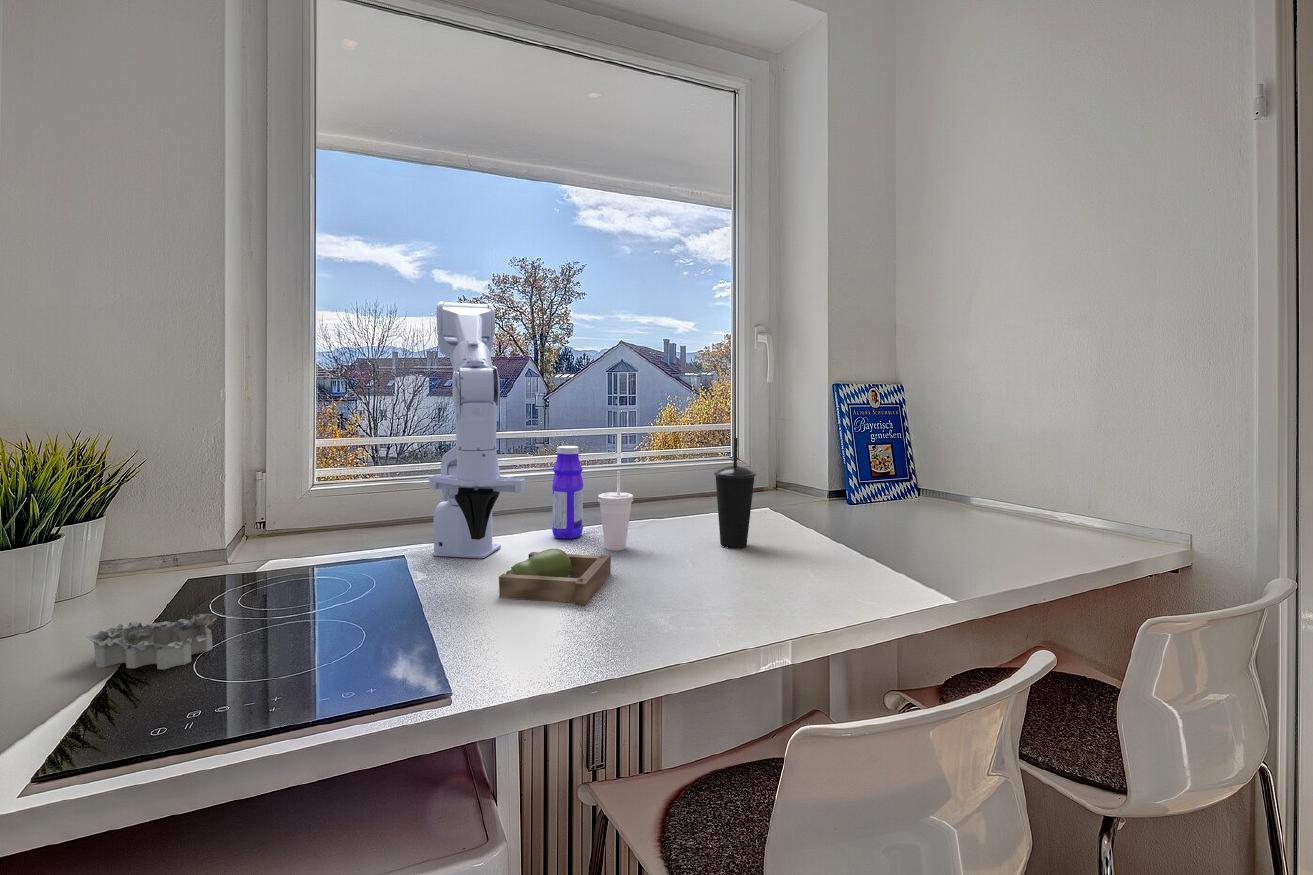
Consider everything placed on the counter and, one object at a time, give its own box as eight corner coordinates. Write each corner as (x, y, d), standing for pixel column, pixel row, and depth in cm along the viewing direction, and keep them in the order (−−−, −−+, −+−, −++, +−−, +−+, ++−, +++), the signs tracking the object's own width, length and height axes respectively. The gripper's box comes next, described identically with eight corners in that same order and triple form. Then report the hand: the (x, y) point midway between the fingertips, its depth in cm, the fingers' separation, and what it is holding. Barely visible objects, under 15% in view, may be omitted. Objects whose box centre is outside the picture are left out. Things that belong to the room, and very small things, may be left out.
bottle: (557, 531, 136) (557, 444, 135) (585, 531, 136) (585, 444, 134) (548, 539, 129) (548, 448, 127) (578, 540, 129) (578, 449, 127)
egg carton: (224, 646, 79) (222, 612, 79) (171, 675, 72) (169, 637, 71) (140, 641, 80) (138, 607, 80) (79, 669, 73) (77, 632, 72)
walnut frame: (497, 599, 95) (496, 578, 95) (533, 568, 110) (533, 550, 110) (585, 605, 93) (585, 583, 93) (610, 573, 108) (610, 554, 108)
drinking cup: (707, 548, 124) (709, 438, 122) (719, 538, 131) (721, 435, 129) (748, 552, 121) (751, 440, 119) (758, 542, 128) (761, 437, 126)
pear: (574, 549, 101) (510, 569, 96) (579, 582, 102) (517, 604, 97) (559, 540, 106) (497, 560, 101) (564, 572, 107) (503, 593, 102)
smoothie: (628, 553, 120) (628, 474, 119) (593, 551, 121) (593, 473, 120) (636, 544, 126) (637, 469, 125) (603, 542, 128) (603, 468, 126)
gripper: (417, 450, 99) (420, 541, 100) (513, 453, 97) (514, 547, 98) (440, 444, 106) (442, 530, 107) (530, 447, 104) (531, 535, 105)
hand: (478, 537), depth 103 cm, fingers closed
